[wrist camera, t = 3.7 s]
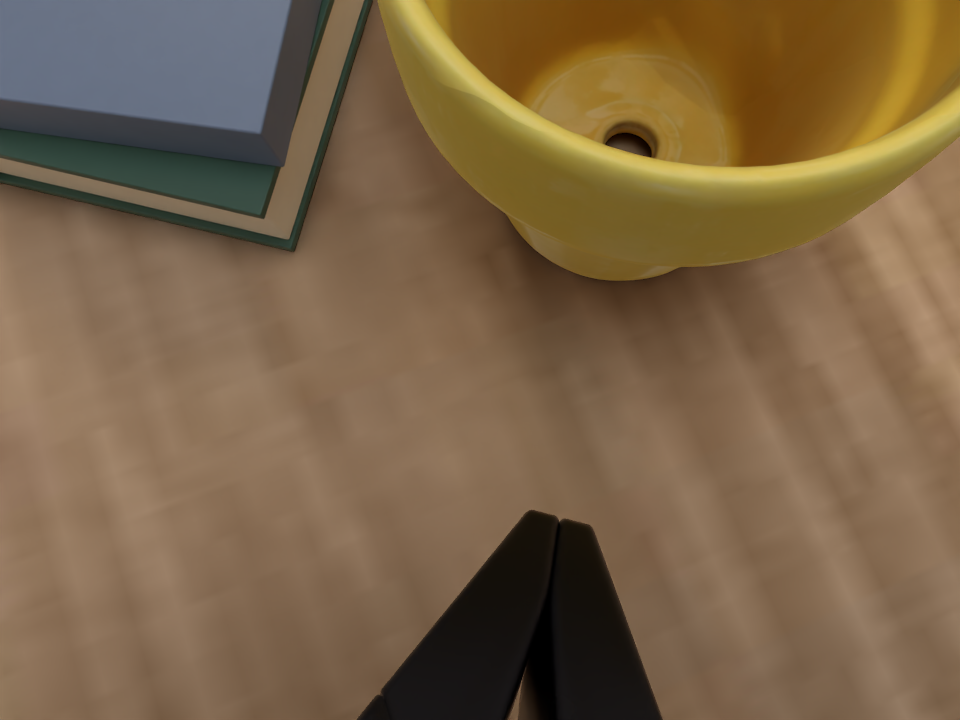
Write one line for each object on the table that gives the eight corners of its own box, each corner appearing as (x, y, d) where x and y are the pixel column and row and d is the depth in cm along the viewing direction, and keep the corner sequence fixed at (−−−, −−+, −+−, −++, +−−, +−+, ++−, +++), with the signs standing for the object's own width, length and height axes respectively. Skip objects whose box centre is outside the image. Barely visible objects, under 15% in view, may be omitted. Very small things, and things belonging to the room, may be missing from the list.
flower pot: (752, -43, 21) (952, -498, 11) (865, 300, 19) (1221, 100, 9) (397, 37, 21) (298, -346, 11) (474, 387, 19) (432, 277, 10)
